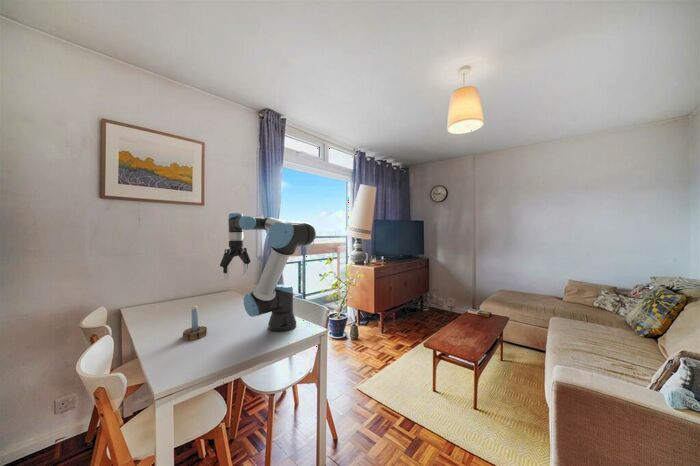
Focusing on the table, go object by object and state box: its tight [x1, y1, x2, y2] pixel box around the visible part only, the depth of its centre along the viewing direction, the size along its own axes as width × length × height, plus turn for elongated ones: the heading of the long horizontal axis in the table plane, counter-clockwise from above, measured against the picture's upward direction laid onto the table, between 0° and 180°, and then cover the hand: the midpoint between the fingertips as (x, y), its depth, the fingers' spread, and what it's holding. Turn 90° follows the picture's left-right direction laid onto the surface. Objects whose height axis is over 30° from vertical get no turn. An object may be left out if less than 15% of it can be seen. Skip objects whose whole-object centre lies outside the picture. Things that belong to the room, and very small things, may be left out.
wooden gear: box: [182, 325, 208, 341], centre depth 125 cm, size 10×10×3 cm
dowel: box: [191, 305, 199, 332], centre depth 125 cm, size 3×3×15 cm
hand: (236, 276), depth 143 cm, fingers open, 13 cm apart
